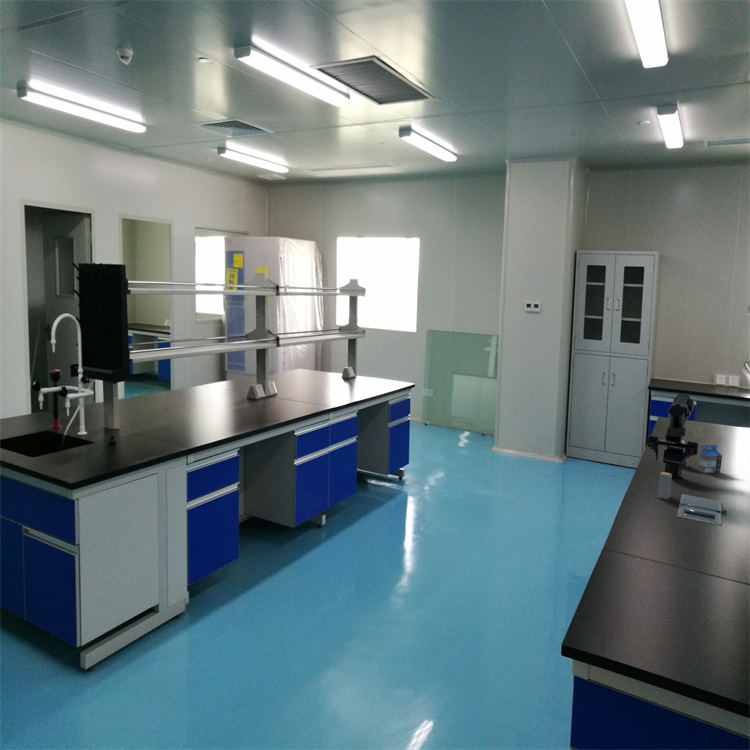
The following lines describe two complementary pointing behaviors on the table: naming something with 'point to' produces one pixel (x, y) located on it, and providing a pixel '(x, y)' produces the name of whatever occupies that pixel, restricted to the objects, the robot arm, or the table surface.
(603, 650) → the table surface
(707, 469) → the label tape cartridge
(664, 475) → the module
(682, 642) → the table surface
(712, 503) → the case
